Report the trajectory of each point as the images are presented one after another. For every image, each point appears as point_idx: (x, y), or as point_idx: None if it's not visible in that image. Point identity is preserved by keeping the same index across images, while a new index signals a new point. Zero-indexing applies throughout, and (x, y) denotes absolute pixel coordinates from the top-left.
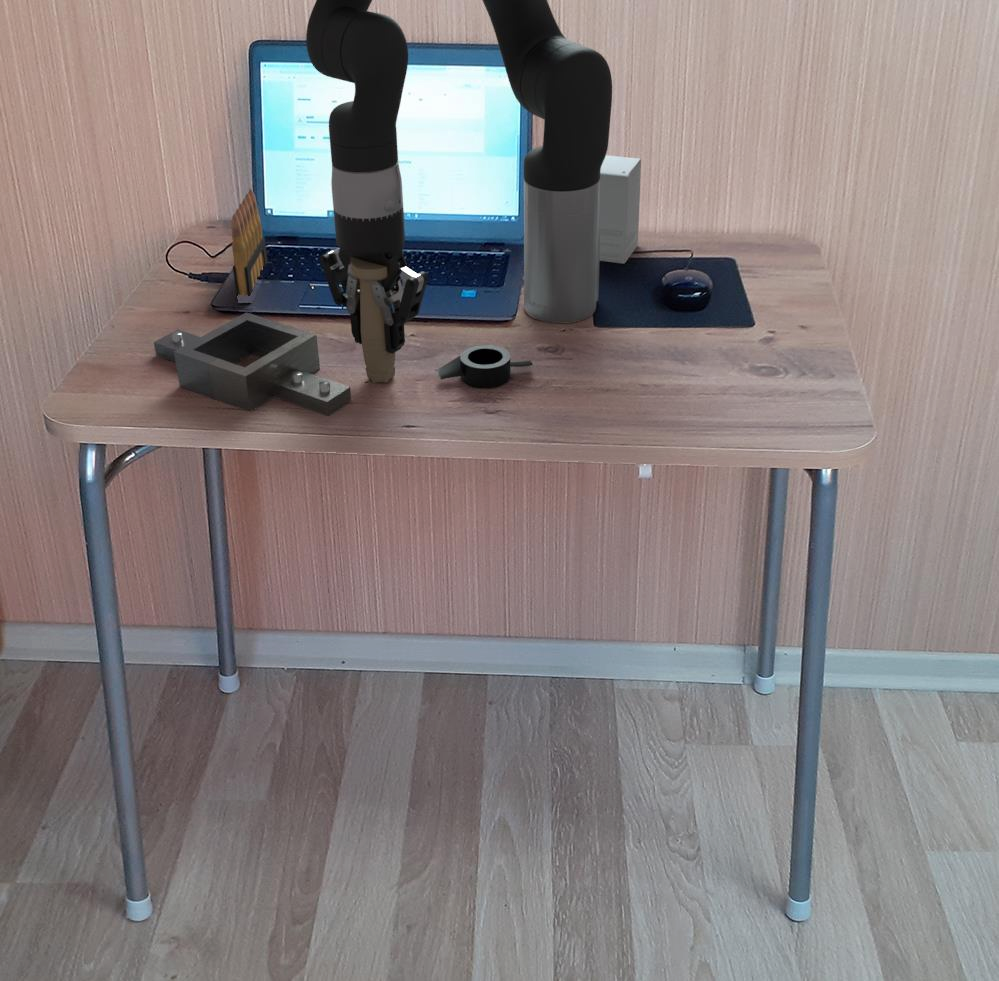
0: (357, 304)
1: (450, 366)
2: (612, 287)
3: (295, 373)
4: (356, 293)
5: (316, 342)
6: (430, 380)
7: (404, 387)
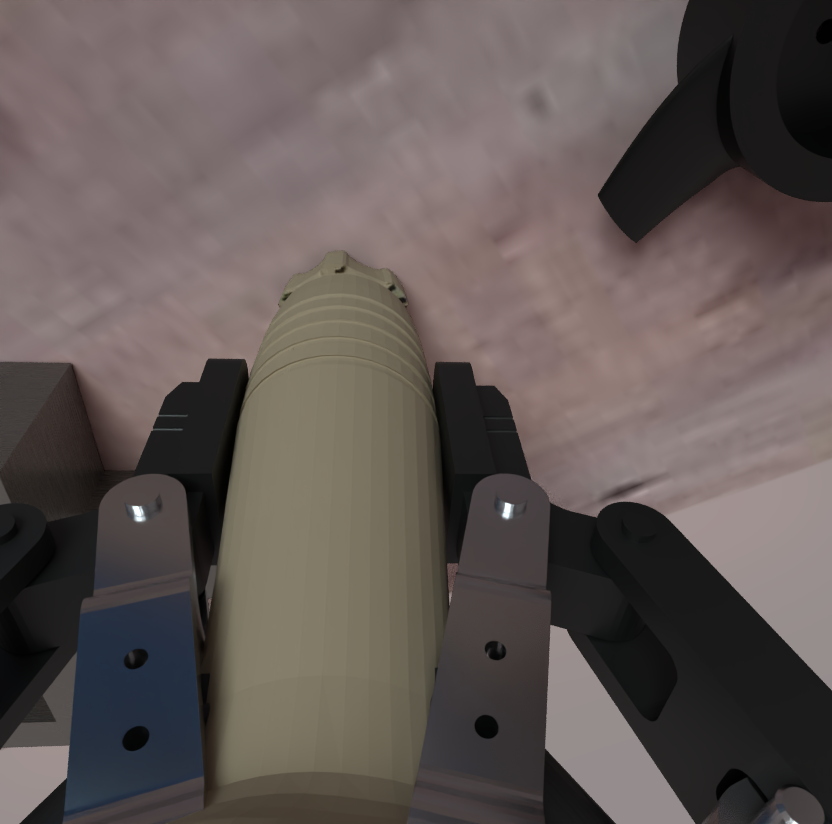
0: (207, 618)
1: (662, 160)
2: None
3: None
4: None
5: (19, 450)
6: (554, 208)
7: (479, 312)
